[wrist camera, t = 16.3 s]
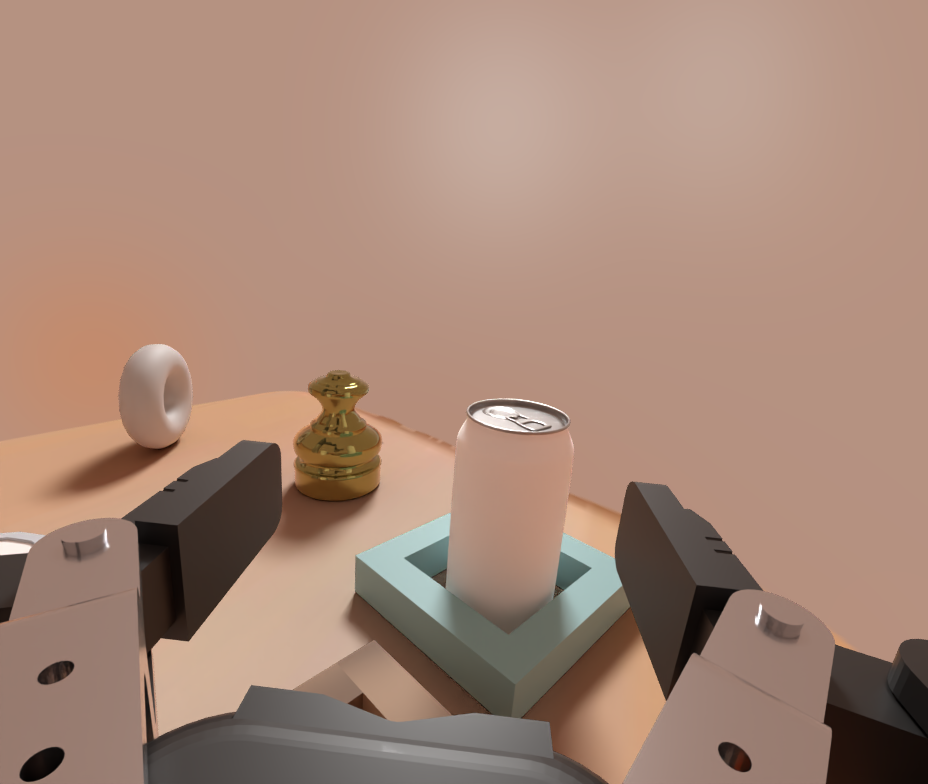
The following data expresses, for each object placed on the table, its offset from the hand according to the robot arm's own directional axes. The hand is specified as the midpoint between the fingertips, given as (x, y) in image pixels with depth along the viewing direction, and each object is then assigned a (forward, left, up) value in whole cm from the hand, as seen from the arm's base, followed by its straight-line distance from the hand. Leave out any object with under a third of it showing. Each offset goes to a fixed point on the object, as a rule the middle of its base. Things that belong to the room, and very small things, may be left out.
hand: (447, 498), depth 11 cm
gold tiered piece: (-27, +14, -15) cm, 34 cm away
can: (-8, +13, -15) cm, 21 cm away
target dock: (-8, +13, -15) cm, 21 cm away
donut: (-44, +5, -15) cm, 47 cm away
